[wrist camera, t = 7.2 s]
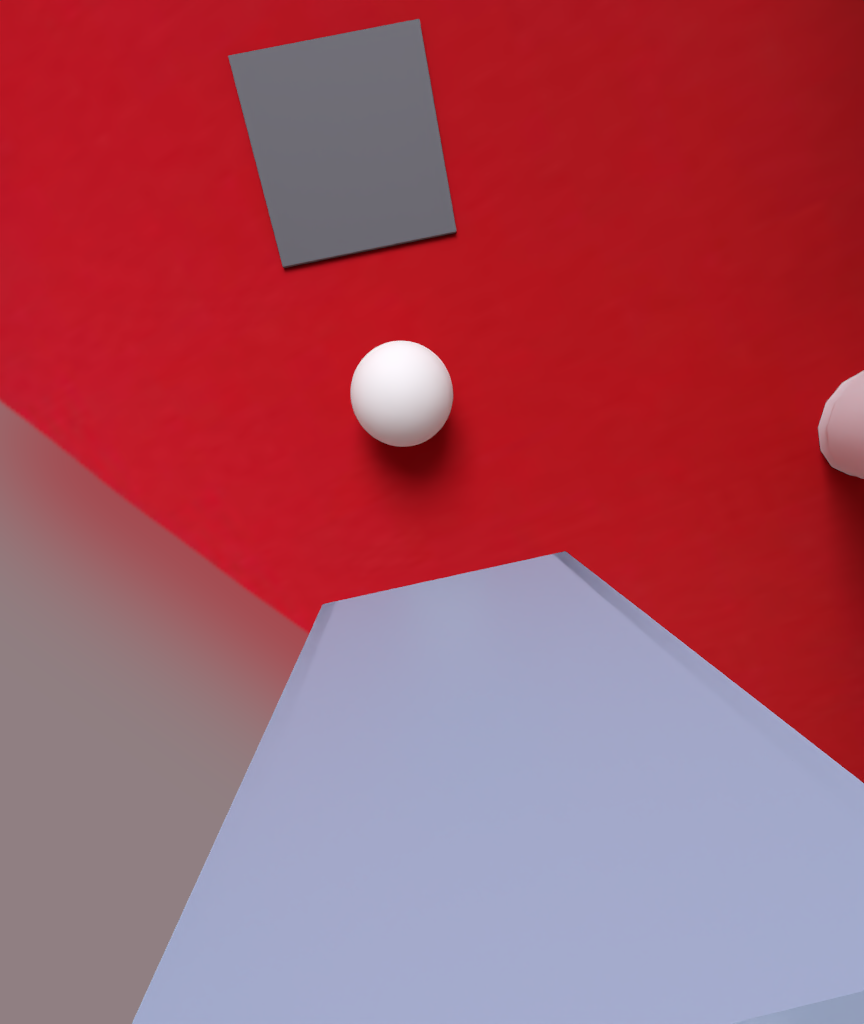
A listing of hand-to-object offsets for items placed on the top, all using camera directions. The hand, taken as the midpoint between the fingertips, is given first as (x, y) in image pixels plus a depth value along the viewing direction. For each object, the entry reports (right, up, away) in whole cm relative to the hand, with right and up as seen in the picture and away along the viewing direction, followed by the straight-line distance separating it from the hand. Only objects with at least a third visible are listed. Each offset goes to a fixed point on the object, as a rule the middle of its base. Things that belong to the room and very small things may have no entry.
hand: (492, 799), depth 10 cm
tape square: (-6, +25, +10) cm, 27 cm away
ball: (-3, +13, +11) cm, 17 cm away
